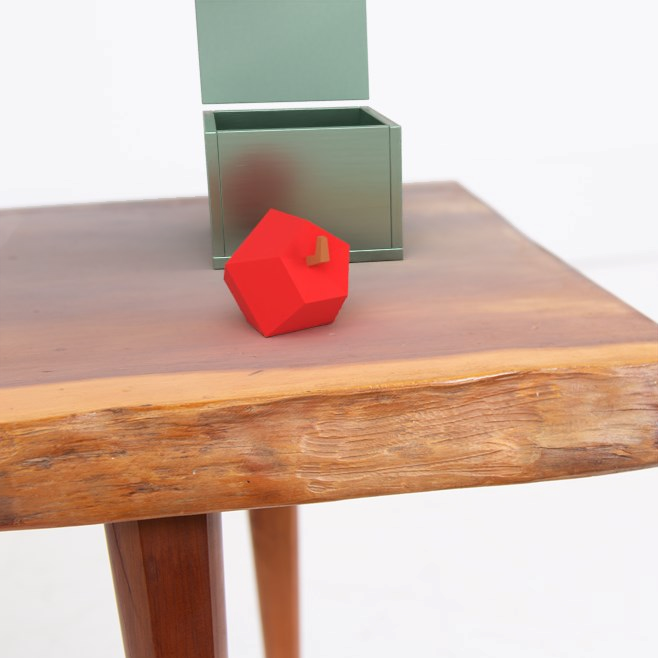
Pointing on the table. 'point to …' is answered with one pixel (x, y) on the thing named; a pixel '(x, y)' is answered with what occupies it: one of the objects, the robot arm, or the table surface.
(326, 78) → the lid
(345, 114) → the box
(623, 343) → the table surface
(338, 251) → the apple
